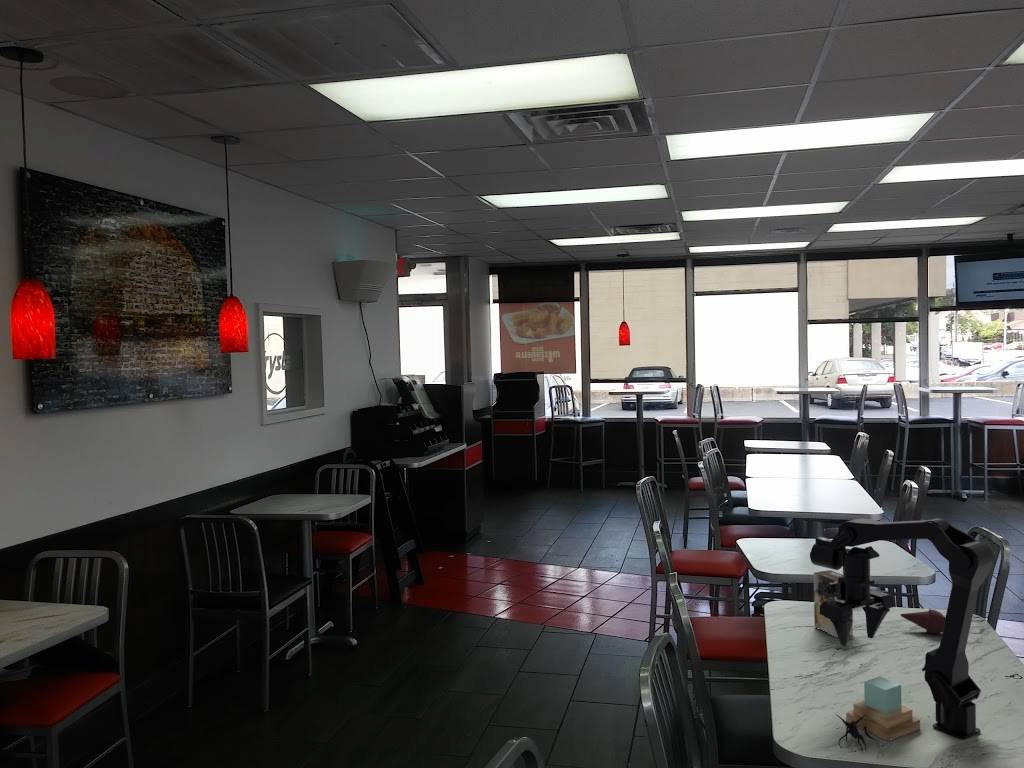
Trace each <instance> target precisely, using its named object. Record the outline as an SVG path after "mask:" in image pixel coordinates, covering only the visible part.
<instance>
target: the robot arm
mask: <svg viewBox="0 0 1024 768" xmlns="http://www.w3.org/2000/svg"><path fill="white" fill-rule="evenodd" d="M901 540H902V541H904V540H907V541H908V540H928V541H929V542H930V543H932V545H933V546H934V547H935V549H936V550H937V552H938V553H939V555H941V556H942V557H943V558H944V559H945V560H946V561H948V574H949V577H950V579H951V589H950V595H949V599H948V605H947V609H946V612H945V616H944V617H945V622H944V627H943V632H941V637H940V642H939V646H938V647H937V648H934V649H932V650H930V651H928V652H926V653H925V658H924V662H925V663H924V666H923V667H922V669H921V671H922V672H924V675H923V677H924V681H925V682H926V684H927V685H928V687H929V689H930V692H931V694H932V699H933V701H934V702H935V723H932V728H935V729H937V730H939V731H942V732H944V733H945V734H947V735H948V734H949V735H951V736H953V737H956V738H958V739H961V740H965V739H967V738H969V737H972V736H974V735H977V734H979V733H981V728H978V727H977V726H976V725H977V723H976V722H977V720H976V718H977V715H976V713H977V710H976V709H977V704H976V703H975V702H973V701H975V700H978V699H979V697H980V695H981V693H982V690H981V688H980V687H979V686H978V685H977V684H976V682H975V681H974V680H973V678H971V676H970V675H969V671H970V670H969V669H970V668H969V666H970V665H969V661H968V658H967V655H966V648H967V643H968V639H969V635H970V630H971V624H972V621H973V615H974V613H975V612H974V611H975V607H976V602H977V598H978V593H979V589H980V587H981V586H982V584H983V583H984V582H985V581H986V579H987V577H988V576H989V573H990V572H991V570H992V568H993V564H995V563H994V562H995V554H994V552H993V551H992V549H991V547H989V546H988V545H987V544H986V543H984V542H981V541H978V540H976V538H974V537H973V536H971V535H970V534H968V533H966V532H965V531H962V530H961V529H958V528H957V527H955V526H953V525H952V524H951V523H949V522H948V521H947V520H945V519H943V518H938V517H937V518H933V519H925V520H923V519H922V520H921V519H920V520H908V521H907V520H904V521H903V520H902V521H887V522H885V521H880V520H877V519H870V518H863V517H860V518H855V519H851V520H847V521H843V522H841V523H840V525H838V530H837V533H836V535H835V536H834V537H833V538H832V539H830V538H826V537H823V536H819V537H816V538H815V542H814V544H813V545H812V547H811V549H810V552H809V559H810V562H811V564H812V565H814V566H818V567H821V568H826V569H830V570H833V571H834V570H835V571H839V570H841V569H842V575H843V577H839V578H838V582H835V583H829V582H828V581H822V582H818V588H817V589H818V593H819V595H820V596H824V599H828V598H830V597H837V600H843V601H844V602H845V603H841V602H838V601H835V600H829V601H825V602H822V603H821V604H820V605H819V614H821V615H824V617H825V618H828V619H829V620H830V621H831V622H832V623H833V625H834V627H835V630H836V633H837V635H838V637H837V638H838V640H839V642H840V645H841V646H843V647H847V644H848V641H849V638H850V636H849V634H850V630H851V626H852V622H854V618H853V619H850V618H851V616H852V610H853V611H855V610H858V609H862V610H863V611H864V614H865V623H866V624H865V626H866V627H865V628H866V635H867V638H869V639H873V638H874V637H875V635H876V633H877V631H878V629H879V627H880V625H881V624H882V622H883V621H884V619H885V617H886V616H887V614H888V612H891V611H890V610H891V609H892V608H894V607H895V606H894V605H895V604H894V600H895V599H894V598H893V596H892V595H891V593H886V592H882V591H880V590H877V589H876V590H875V589H872V590H871V586H873V585H875V580H874V579H872V578H871V560H873V559H875V558H880V554H879V552H878V551H877V550H875V549H874V548H873V546H867V547H865V548H863V547H858V546H862V545H867V544H869V543H870V544H871V543H875V542H879V541H901ZM846 547H849V548H846Z"/></svg>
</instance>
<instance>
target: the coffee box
mask: <svg viewBox="0 0 1024 768" xmlns="http://www.w3.org/2000/svg"><path fill="white" fill-rule="evenodd" d="M839 577H843V573H839V572H837V571H834V570H832V569H830V570H820V571H816V572H813V607H814V608H813V613H814V614H813V615H814V628H815V627H817V628H819V629H821V630H823V631H825V632H827V633H828V634H827V633H826V634H827V635H829V634H830V636H831V635H832V636H831V637H833V636H834V638H835V637H837V638H838V635H837V633H836V630H835V627H834V625H833V623H832V622H831V621H830V620H829V619H828V618H825V617H824V615H821V614H819V605H820V604H821V603H822V602H825V601H829V600H835V601H838V602H841V603H845V602H844V601H843V600H837V597H830V598H828V599H824V596H820V595H819V593H818V589H817V588H818V582H822V581H828V582H829V583H835V582H838V578H839ZM853 613H854V610H852V616H851V618H850V619H853V620H854V618H853V617H854V614H853ZM853 622H854V621H853ZM853 622H852V626H851V630H850V634H849V635H850V636H853V635H854V623H853ZM823 631H822V632H823ZM825 632H824V633H825Z"/></svg>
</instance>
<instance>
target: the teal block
mask: <svg viewBox="0 0 1024 768" xmlns="http://www.w3.org/2000/svg"><path fill="white" fill-rule="evenodd" d="M863 685H864V690H863V692H864V696H863V697H864V699H863V700H865V705H866V706H868V707H871V708H873V709H875V710H877V711H880V712H882V713H884V714H887V713H890V712H893V711H896V710H899V709H901V705H902V684H901V683H897V682H896V681H892V680H891V679H887V678H885V677H882V676H877V677H874V678H871V679H867V680H865V681H864V683H863Z"/></svg>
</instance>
